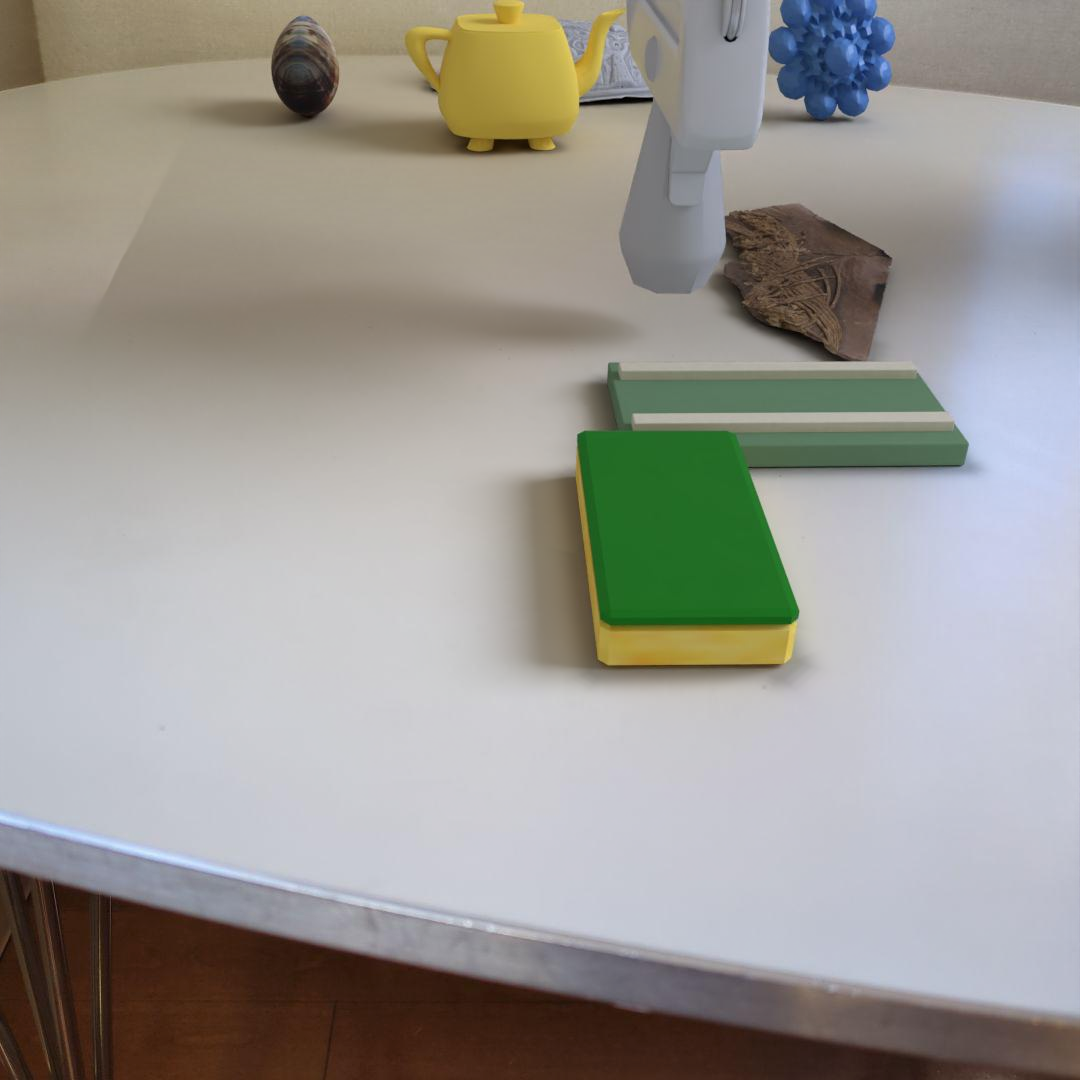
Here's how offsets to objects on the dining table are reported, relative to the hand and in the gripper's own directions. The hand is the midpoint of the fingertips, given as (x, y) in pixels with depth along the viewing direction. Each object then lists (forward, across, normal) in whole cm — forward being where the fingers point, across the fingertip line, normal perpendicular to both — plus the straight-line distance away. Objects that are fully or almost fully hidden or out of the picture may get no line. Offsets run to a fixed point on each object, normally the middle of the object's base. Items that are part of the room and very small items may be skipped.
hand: (677, 189), depth 64 cm
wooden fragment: (+8, +8, -10) cm, 15 cm away
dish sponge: (+8, -23, +3) cm, 25 cm away
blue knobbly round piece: (+8, +46, -21) cm, 51 cm away
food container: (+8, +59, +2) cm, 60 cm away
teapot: (+8, +40, +7) cm, 41 cm away
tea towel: (+8, -11, -4) cm, 14 cm away
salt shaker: (+5, 0, 0) cm, 5 cm away
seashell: (+8, +47, +25) cm, 54 cm away
